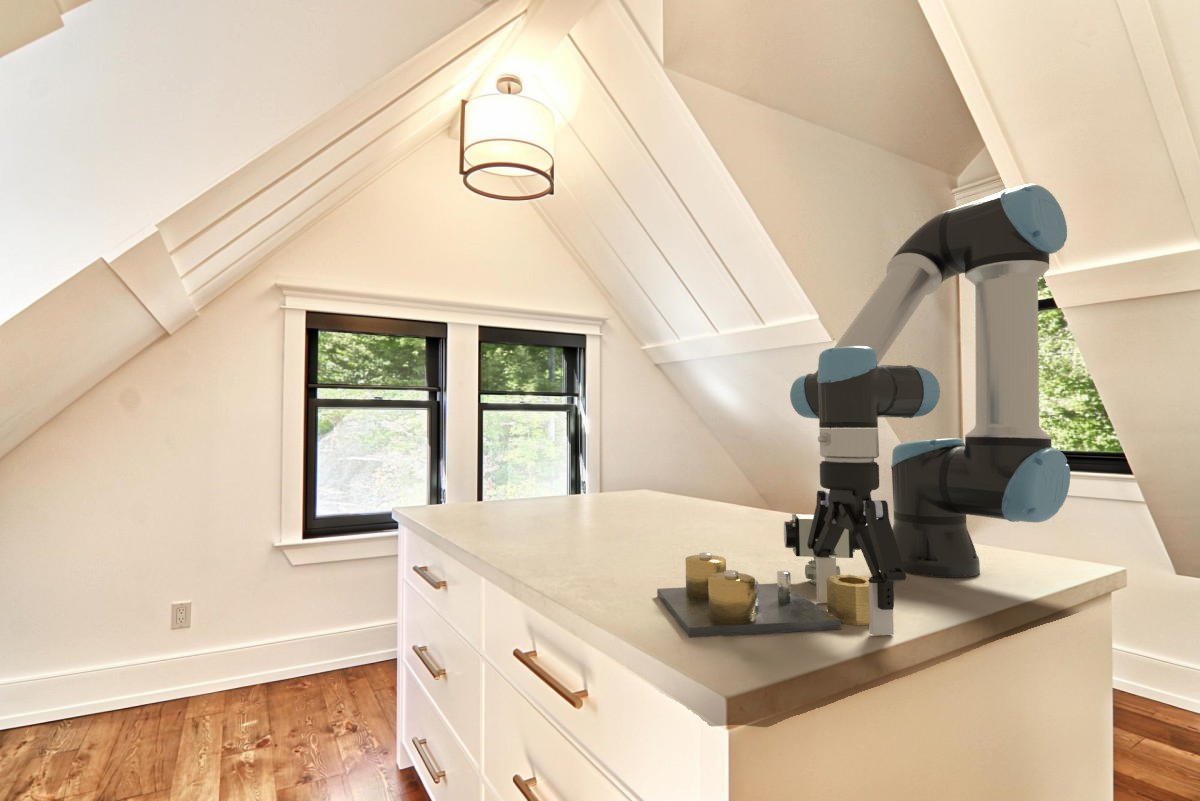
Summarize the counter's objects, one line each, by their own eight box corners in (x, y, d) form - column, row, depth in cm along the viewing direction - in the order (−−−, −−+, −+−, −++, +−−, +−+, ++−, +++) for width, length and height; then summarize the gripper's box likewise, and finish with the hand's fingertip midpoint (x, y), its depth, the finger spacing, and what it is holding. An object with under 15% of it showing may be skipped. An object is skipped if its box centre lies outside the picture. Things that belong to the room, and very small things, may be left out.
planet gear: (861, 609, 84) (860, 574, 84) (887, 623, 78) (885, 585, 78) (821, 612, 83) (820, 575, 84) (844, 626, 78) (842, 587, 78)
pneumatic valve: (863, 588, 95) (861, 512, 96) (787, 584, 98) (785, 511, 98) (856, 579, 101) (854, 508, 101) (784, 576, 103) (782, 506, 104)
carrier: (781, 590, 94) (780, 546, 95) (840, 629, 76) (839, 574, 77) (657, 596, 92) (656, 550, 92) (689, 637, 74) (688, 580, 74)
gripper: (783, 455, 94) (785, 592, 93) (876, 465, 69) (880, 652, 68) (828, 455, 95) (831, 590, 94) (936, 465, 70) (941, 649, 69)
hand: (851, 617), depth 81 cm, fingers open, 13 cm apart
